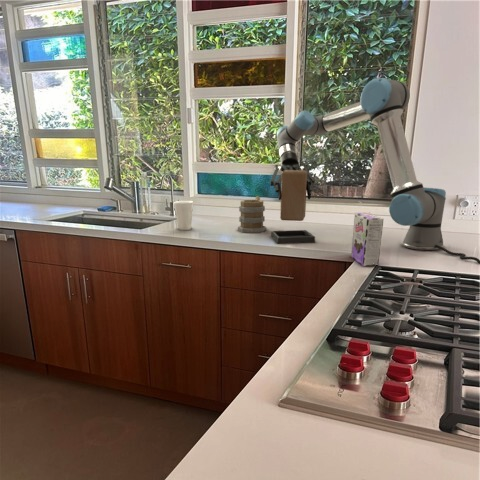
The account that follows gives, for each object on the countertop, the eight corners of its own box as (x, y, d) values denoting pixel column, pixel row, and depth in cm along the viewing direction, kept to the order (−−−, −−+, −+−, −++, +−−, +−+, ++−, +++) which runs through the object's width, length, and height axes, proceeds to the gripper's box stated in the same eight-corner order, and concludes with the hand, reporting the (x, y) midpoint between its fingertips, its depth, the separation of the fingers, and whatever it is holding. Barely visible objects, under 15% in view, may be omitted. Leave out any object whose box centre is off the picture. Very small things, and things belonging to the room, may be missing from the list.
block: (303, 221, 194) (305, 171, 187) (279, 220, 196) (281, 171, 189) (305, 217, 204) (307, 170, 196) (282, 217, 206) (284, 169, 198)
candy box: (350, 257, 171) (354, 212, 165) (366, 256, 172) (370, 211, 166) (362, 266, 158) (366, 218, 152) (379, 266, 159) (384, 217, 153)
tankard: (260, 233, 217) (261, 200, 212) (235, 231, 221) (235, 199, 215) (271, 226, 235) (272, 196, 229) (248, 225, 239) (248, 195, 233)
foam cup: (198, 228, 231) (197, 201, 226) (186, 231, 224) (185, 203, 219) (183, 226, 236) (181, 200, 231) (171, 229, 229) (169, 202, 224)
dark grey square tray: (314, 242, 196) (315, 236, 196) (277, 243, 195) (277, 237, 194) (305, 235, 211) (305, 230, 210) (271, 236, 210) (271, 230, 209)
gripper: (313, 163, 208) (321, 202, 199) (260, 164, 205) (265, 203, 196) (317, 151, 201) (325, 191, 192) (262, 151, 198) (267, 192, 190)
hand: (295, 197), depth 194 cm, fingers closed on block, 12 cm apart
